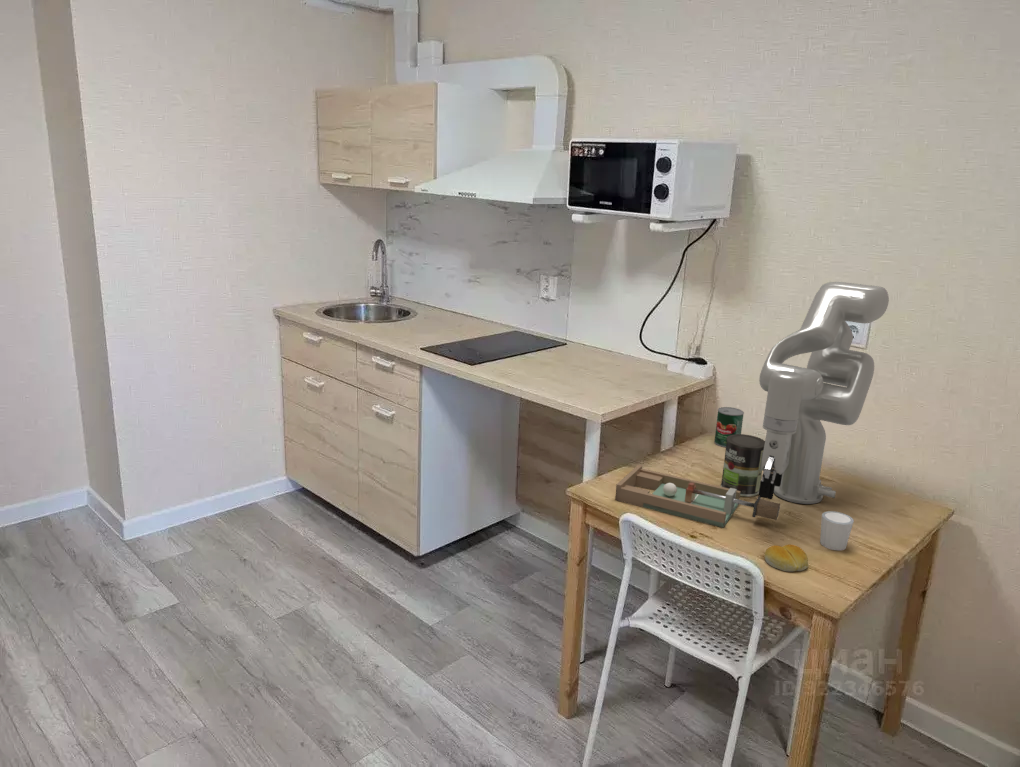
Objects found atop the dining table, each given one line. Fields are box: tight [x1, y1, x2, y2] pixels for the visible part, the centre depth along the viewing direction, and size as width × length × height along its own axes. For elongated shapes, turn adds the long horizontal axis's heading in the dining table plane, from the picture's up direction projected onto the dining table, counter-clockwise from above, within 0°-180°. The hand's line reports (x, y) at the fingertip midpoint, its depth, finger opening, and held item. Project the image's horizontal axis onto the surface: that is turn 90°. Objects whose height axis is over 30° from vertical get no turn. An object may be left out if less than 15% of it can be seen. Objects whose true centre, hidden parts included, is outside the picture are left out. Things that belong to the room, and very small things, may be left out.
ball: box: [663, 483, 677, 496], centre depth 192 cm, size 4×4×4 cm
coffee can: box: [720, 433, 765, 498], centre depth 200 cm, size 10×10×14 cm
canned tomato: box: [714, 406, 745, 448], centre depth 234 cm, size 8×8×11 cm
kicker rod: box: [685, 482, 781, 521], centre depth 185 cm, size 22×5×4 cm, turn 60°
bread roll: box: [764, 543, 809, 573], centre depth 163 cm, size 8×9×4 cm
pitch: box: [614, 464, 741, 529], centre depth 191 cm, size 28×16×6 cm, turn 60°
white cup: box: [819, 510, 855, 551], centre depth 172 cm, size 7×7×7 cm
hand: (769, 491), depth 178 cm, fingers open, 9 cm apart
